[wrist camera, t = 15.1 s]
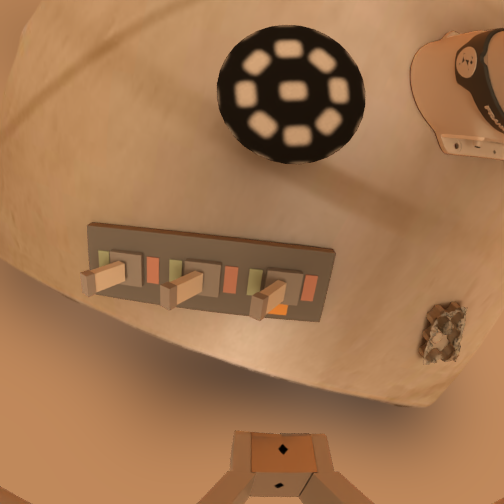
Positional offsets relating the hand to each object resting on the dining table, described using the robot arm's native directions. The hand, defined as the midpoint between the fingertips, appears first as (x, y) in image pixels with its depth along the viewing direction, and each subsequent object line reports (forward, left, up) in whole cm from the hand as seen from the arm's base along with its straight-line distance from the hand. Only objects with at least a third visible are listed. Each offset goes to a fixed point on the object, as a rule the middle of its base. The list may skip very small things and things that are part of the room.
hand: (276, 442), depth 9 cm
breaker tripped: (-4, +8, -29) cm, 30 cm away
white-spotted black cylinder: (0, -12, -31) cm, 34 cm away
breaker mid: (+6, +8, -29) cm, 30 cm away
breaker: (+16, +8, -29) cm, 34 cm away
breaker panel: (+6, +8, -31) cm, 33 cm away
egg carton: (-32, +14, -32) cm, 47 cm away
